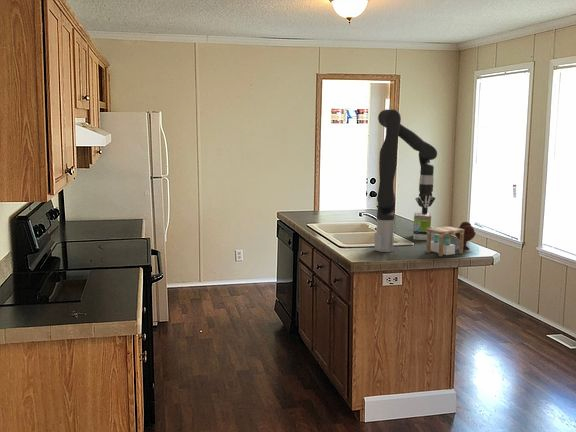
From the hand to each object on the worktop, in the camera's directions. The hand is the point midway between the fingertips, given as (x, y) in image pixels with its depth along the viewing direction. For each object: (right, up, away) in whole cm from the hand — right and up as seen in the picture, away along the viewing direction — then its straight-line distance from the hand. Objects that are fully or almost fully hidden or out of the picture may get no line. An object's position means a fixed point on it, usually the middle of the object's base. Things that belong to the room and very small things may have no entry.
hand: (424, 214), depth 337 cm
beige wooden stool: (+8, -21, -12) cm, 25 cm away
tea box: (+5, -14, +32) cm, 35 cm away
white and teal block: (+7, -20, -9) cm, 23 cm away
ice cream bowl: (+22, -19, 0) cm, 29 cm away
